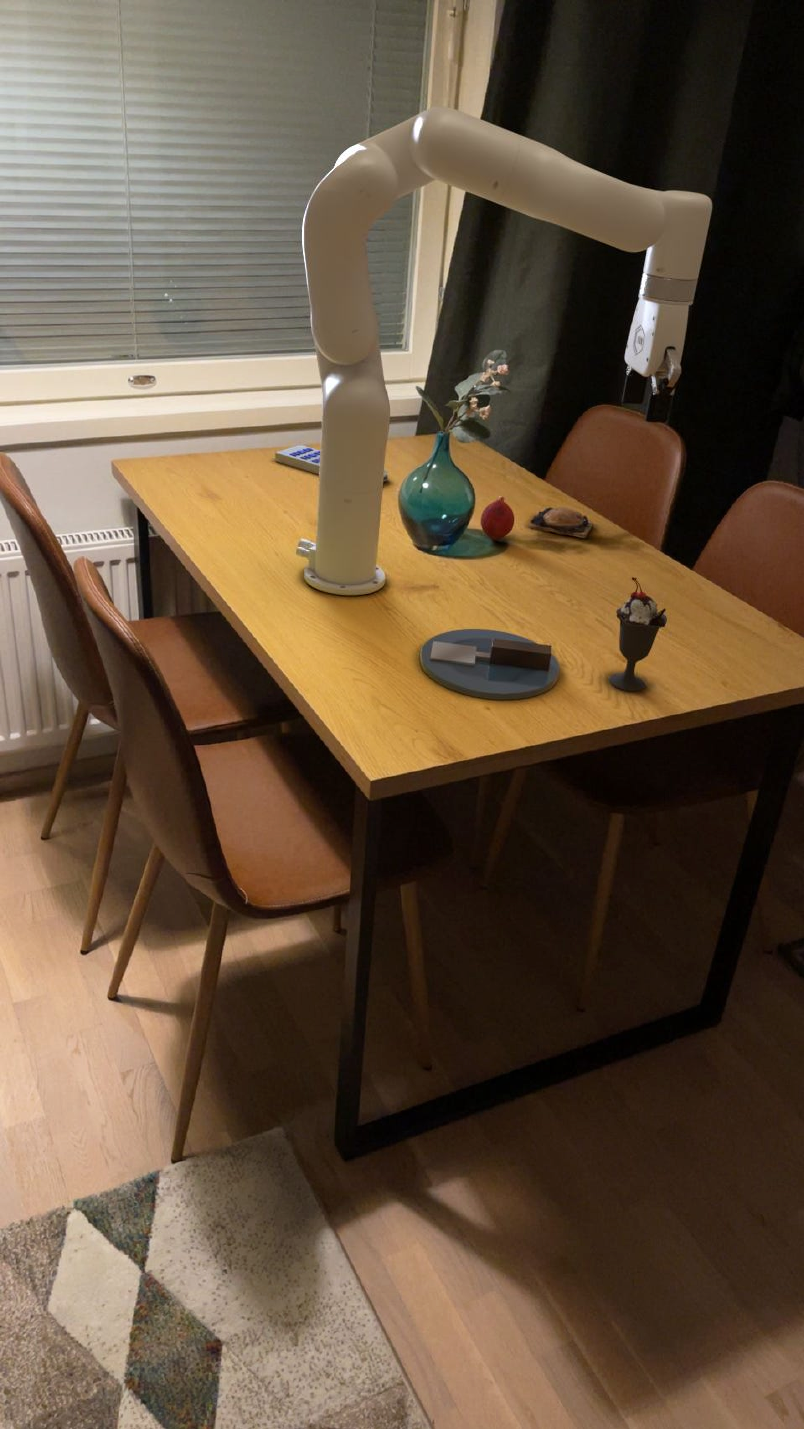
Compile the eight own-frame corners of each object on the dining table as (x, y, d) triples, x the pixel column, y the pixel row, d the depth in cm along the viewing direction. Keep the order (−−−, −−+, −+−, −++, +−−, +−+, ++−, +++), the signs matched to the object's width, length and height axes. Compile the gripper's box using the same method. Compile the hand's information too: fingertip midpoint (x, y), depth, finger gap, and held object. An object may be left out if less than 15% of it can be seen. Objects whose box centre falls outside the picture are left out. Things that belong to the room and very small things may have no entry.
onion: (509, 549, 192) (515, 504, 188) (475, 544, 193) (481, 499, 189) (513, 537, 197) (519, 493, 193) (480, 532, 198) (486, 488, 194)
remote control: (300, 454, 229) (300, 443, 228) (391, 480, 218) (392, 469, 217) (275, 461, 223) (275, 450, 222) (367, 489, 212) (368, 478, 211)
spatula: (430, 660, 151) (431, 643, 150) (433, 643, 156) (435, 626, 154) (548, 675, 150) (551, 658, 149) (548, 658, 155) (551, 641, 153)
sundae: (596, 670, 155) (616, 569, 148) (644, 672, 156) (666, 572, 148) (608, 693, 149) (629, 590, 142) (657, 695, 150) (681, 592, 143)
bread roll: (594, 526, 206) (598, 507, 204) (584, 540, 199) (588, 520, 197) (538, 514, 209) (541, 495, 207) (526, 528, 202) (529, 508, 200)
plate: (393, 669, 150) (394, 662, 150) (461, 623, 165) (461, 616, 164) (521, 715, 142) (522, 708, 142) (580, 662, 157) (581, 655, 156)
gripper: (621, 277, 163) (600, 395, 171) (664, 299, 148) (639, 428, 156) (669, 280, 164) (646, 397, 173) (717, 303, 149) (690, 430, 158)
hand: (643, 412), depth 165 cm, fingers open, 9 cm apart
